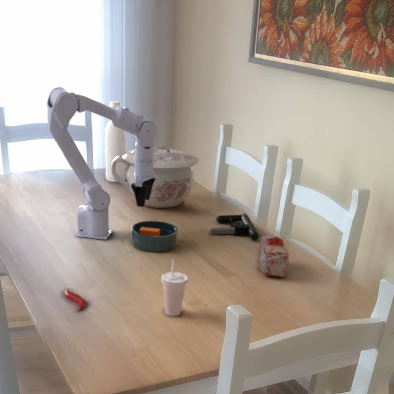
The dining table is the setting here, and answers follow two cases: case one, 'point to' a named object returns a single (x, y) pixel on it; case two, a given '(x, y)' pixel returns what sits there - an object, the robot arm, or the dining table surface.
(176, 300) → the smoothie
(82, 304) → the cayenne pepper
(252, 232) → the machine pistol
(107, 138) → the bottle
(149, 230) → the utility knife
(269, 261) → the food item
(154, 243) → the bowl
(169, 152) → the chamber pot
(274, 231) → the dining table surface
